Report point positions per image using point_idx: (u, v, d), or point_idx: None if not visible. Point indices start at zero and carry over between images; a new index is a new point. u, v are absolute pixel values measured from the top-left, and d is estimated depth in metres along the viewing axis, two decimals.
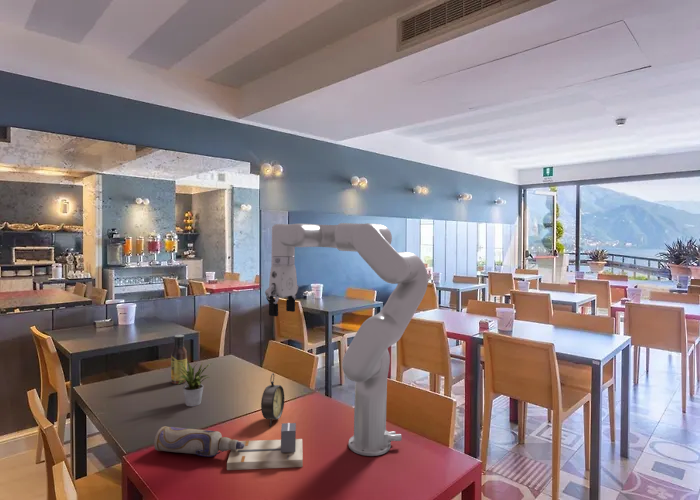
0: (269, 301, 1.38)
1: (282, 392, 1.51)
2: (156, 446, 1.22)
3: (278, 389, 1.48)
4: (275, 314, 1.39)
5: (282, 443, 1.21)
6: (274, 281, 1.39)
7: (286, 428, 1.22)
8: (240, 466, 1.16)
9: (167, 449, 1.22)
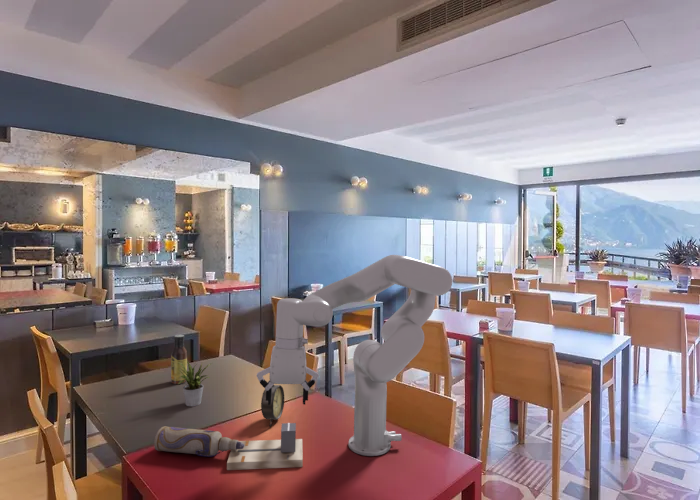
0: None
1: (282, 392, 1.51)
2: (156, 446, 1.22)
3: (278, 389, 1.48)
4: None
5: (282, 443, 1.21)
6: None
7: (286, 428, 1.22)
8: (240, 466, 1.16)
9: (167, 449, 1.22)
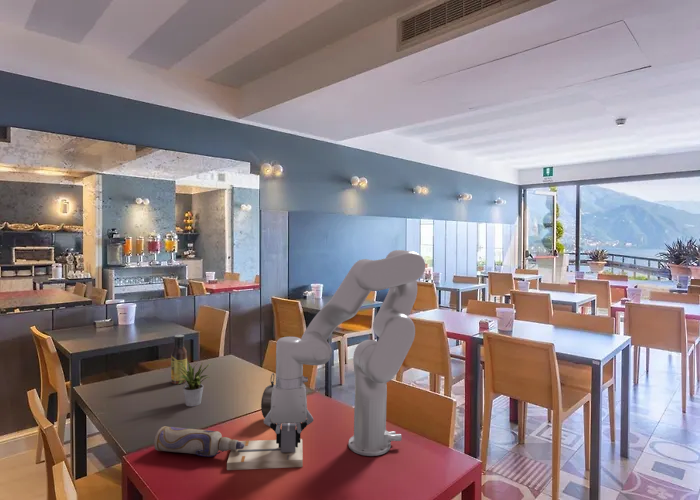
0: None
1: None
2: (156, 446, 1.22)
3: None
4: None
5: (282, 443, 1.21)
6: (306, 401, 1.24)
7: (286, 428, 1.22)
8: (240, 466, 1.16)
9: (167, 449, 1.22)
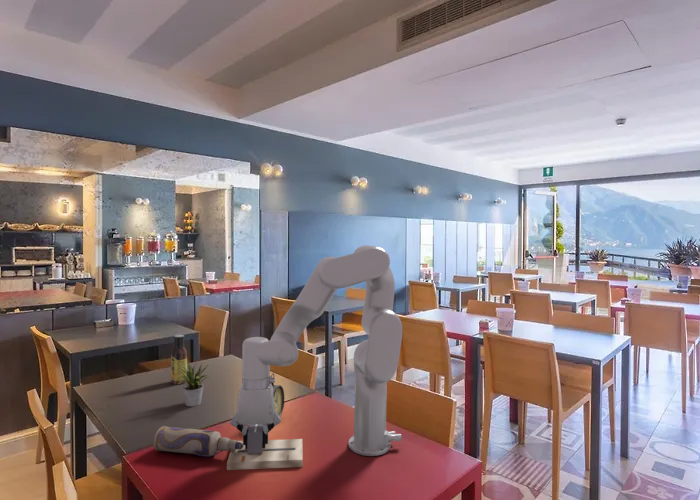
0: None
1: (282, 392, 1.51)
2: (155, 446, 1.22)
3: (278, 389, 1.48)
4: None
5: (248, 444, 1.20)
6: None
7: (253, 429, 1.21)
8: (240, 466, 1.16)
9: (166, 449, 1.22)
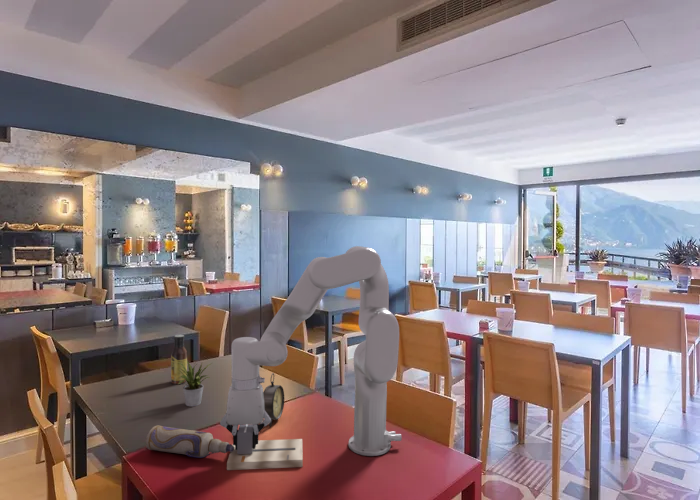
0: None
1: (282, 392, 1.51)
2: (148, 445, 1.23)
3: (278, 389, 1.48)
4: None
5: (238, 445, 1.19)
6: None
7: (243, 429, 1.21)
8: (240, 466, 1.16)
9: (158, 448, 1.23)
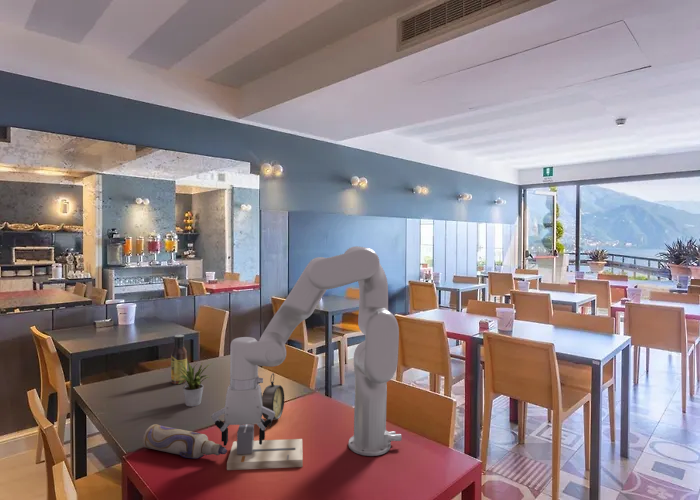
0: None
1: (282, 392, 1.51)
2: (144, 444, 1.24)
3: (278, 389, 1.48)
4: None
5: (238, 445, 1.19)
6: None
7: (243, 429, 1.21)
8: (240, 466, 1.16)
9: (154, 447, 1.24)
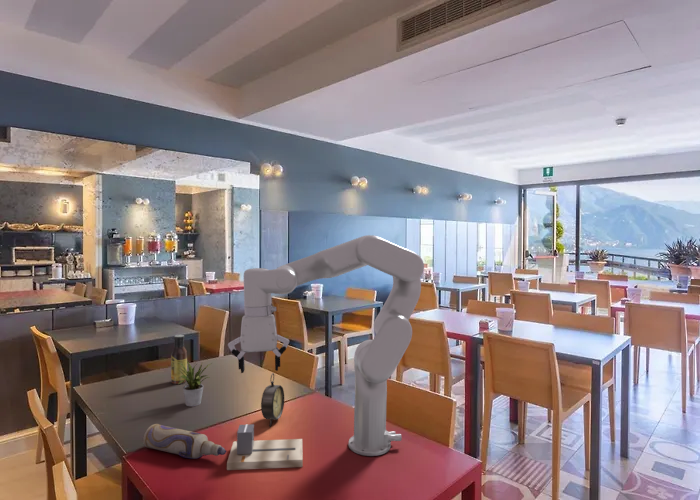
0: (282, 352, 1.26)
1: (282, 392, 1.51)
2: (144, 443, 1.24)
3: (278, 389, 1.48)
4: None
5: (238, 445, 1.19)
6: (276, 331, 1.26)
7: (243, 429, 1.21)
8: (240, 466, 1.16)
9: (154, 447, 1.24)
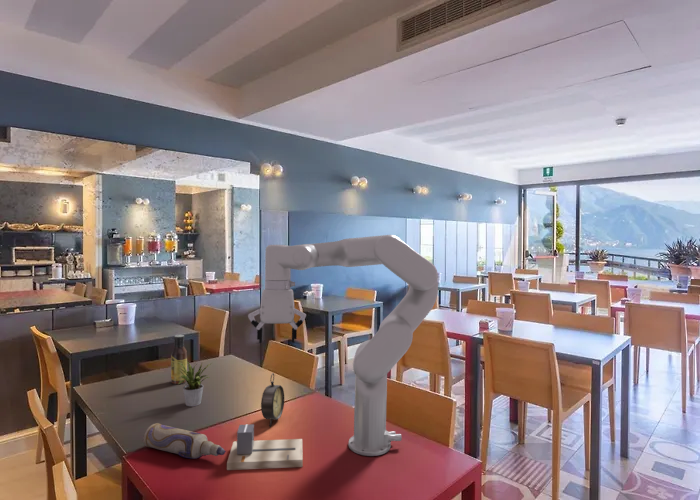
0: None
1: (282, 392, 1.51)
2: (145, 442, 1.25)
3: (278, 389, 1.48)
4: None
5: (238, 445, 1.19)
6: None
7: (243, 429, 1.21)
8: (240, 466, 1.16)
9: (154, 446, 1.24)
